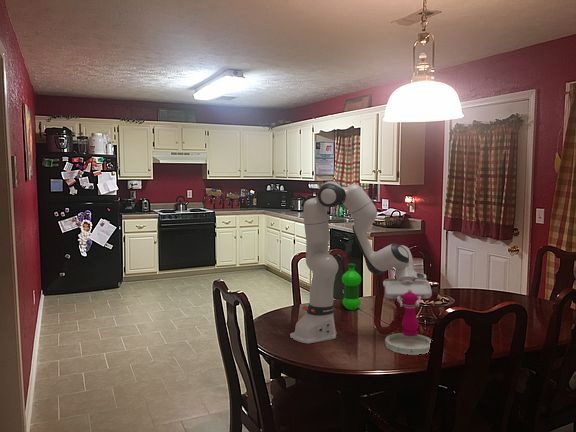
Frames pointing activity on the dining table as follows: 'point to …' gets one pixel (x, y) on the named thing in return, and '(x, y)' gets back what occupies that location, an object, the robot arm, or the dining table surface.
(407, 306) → the pepper mill
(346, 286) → the plastic bottle
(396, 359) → the dining table surface
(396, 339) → the round dish
